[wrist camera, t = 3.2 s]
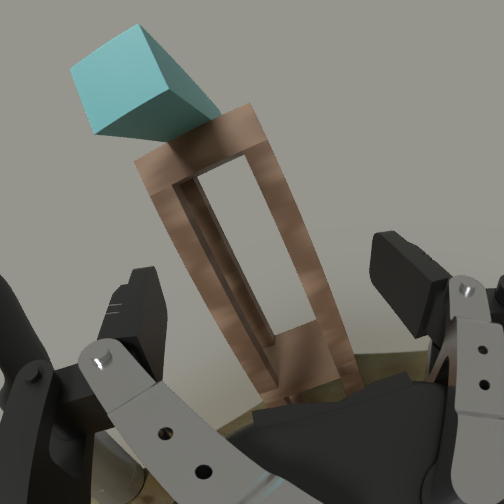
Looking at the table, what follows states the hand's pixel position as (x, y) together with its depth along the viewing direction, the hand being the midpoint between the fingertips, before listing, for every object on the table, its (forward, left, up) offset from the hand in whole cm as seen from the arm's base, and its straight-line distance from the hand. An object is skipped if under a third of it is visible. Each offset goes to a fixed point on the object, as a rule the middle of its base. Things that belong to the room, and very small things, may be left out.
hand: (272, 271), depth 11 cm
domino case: (-2, +10, +7) cm, 13 cm away
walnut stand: (-2, +12, -25) cm, 28 cm away
